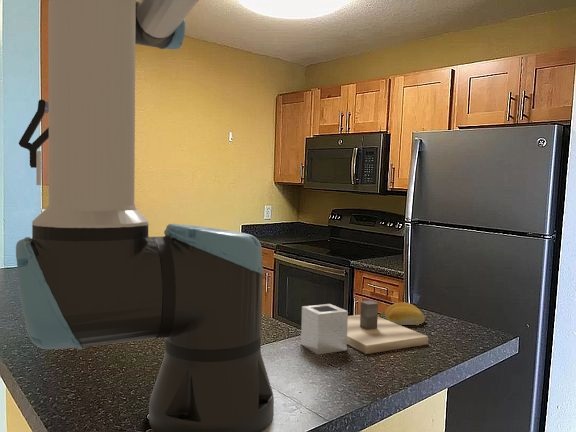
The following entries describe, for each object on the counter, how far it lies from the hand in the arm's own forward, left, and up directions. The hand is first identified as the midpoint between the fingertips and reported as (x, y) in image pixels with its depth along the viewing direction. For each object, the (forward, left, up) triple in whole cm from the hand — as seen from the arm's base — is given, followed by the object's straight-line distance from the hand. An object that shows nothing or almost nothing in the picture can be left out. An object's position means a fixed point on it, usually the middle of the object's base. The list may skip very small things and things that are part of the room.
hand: (77, 186), depth 95 cm
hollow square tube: (-32, -39, -28) cm, 58 cm away
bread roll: (-23, -65, -28) cm, 75 cm away
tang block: (-29, -51, -28) cm, 65 cm away
